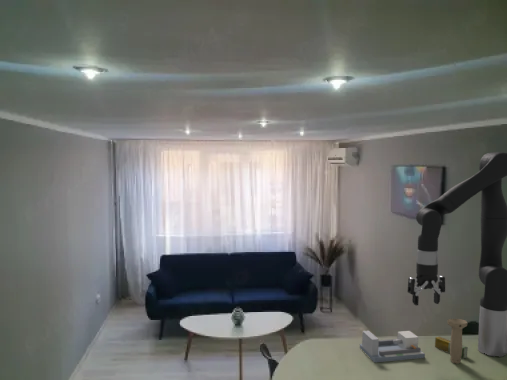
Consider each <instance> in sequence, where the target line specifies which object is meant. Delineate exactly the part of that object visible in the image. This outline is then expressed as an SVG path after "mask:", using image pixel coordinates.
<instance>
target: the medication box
mask: <svg viewBox="0 0 507 380" xmlns="http://www.w3.org/2000/svg"><path fill="white" fill-rule="evenodd" d="M434 339H435V340H434V347H435V348H436V349H439V350H441V351H443V352H446V353H448V354H450V342H451V339H447V338H444V337H442V336H436V337H435V338H434ZM468 351H469V348H468V346H465V345H463V344H462V356H461V359H464V360H465V359H466V358H468Z"/></svg>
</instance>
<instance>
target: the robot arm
mask: <svg viewBox="0 0 507 380" xmlns="http://www.w3.org/2000/svg"><path fill="white" fill-rule="evenodd" d="M478 167H479V168H478V169H479V171H478V172H476V173H475V174H473V175H472V176H470V177H469V178H466V179H465V180H463V181H461V182H459V183H457V184H455V185H454V186H452V187H451V188H449V189H448V190H447V191H446V192H444V193H443V194H442V195H441V196H439V197H438V198H437V199H435V200H433V201H431V202H430V203H429V202H428V204H425V205H424V206H423V207H422V208H420V209H419V211H417V213H416V216H415V219H416V222H417V223H418V224H419V225H420V226H421V233H420V234H419V235H418V237H417V251H416V267H415V268H416V269H415V270H416V277H411V276H410V277H408V280H407V281H408V282H407V293H408V294H411V296H412V300H411V301H412V302H411V303H412V304H413V305H415V306H419V299H420V298H419V295H420V293H421V292H423V290H427V289H428V290H429V289H430V290H431V289H432V290H433V292H434V293H433V303H434V304H436V305H439V304H440V301H441V294H442V293H446V277H445V276H443V275H440V274H439V253H438V252H439V238H440V237H439V236H440V233H441V228H442V223H443V222H442V217H443V216H444V215H448V214H451V213H453V212H455V211H456V210H457V209H458V208H460V207H461V206H462V205H463V204H465V203H466V202H467V201H469V200H471V199H472V198H473V197H474V196H476V195H477V194H479V193H480V192H481V194H480V195H481V197H480V198H481V200H480V201H481V202H480V203H481V204H480V248H481V249H480V260H479V265H478V266H479V267H478V278H479V280H480V282H481V284H483V285H484V294H483V296H482V297H481V298H480V300H479V317H478V318H479V319H478V320H479V321H478V338H477V350H478V352H480V353H482V354H484V353H485V354H484V355H486V354H487V356H489V357H495V356H499V357H500V358H501V357H504V356H506V355H507V269H506V268H505V267H503V248H504V244H505V242H506V241H507V202H506V200H505V196H504V194H503V189H502V185H503V183H502V182H503V181H502V180H503V179H504V178H506V177H507V152H504V151H495V152H494V151H492V152H487V153H485V154H483V156H481V158H480V160H479V165H478ZM438 274H439V275H438ZM437 282H438V285H437ZM499 357H498V358H499Z"/></svg>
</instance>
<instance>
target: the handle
mask: <svg viewBox="0 0 507 380" xmlns="http://www.w3.org/2000/svg"><path fill="white" fill-rule="evenodd" d="M446 323H447V325H448V326H450V327H451V333H450V336H451V337H450V341H451V342H450V353H449V354H450V359H449V360H450V362H451V363H453V364H460V363H461V362H462V358H461V356H462V345H463V329H464V328H466V327H468V321H467V320H464V319H461V318H449V319H447V321H446Z"/></svg>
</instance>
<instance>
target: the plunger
mask: <svg viewBox="0 0 507 380" xmlns="http://www.w3.org/2000/svg"><path fill="white" fill-rule="evenodd" d="M395 339H396V340H393V343H394V344H397V345H399V346H400V347H401V348H402V349H406V348H414V349H416V348H417V347H419V336H418V335H416V334H415V333H414V332H412V331H411V330H402V331H397V338H395Z"/></svg>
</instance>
